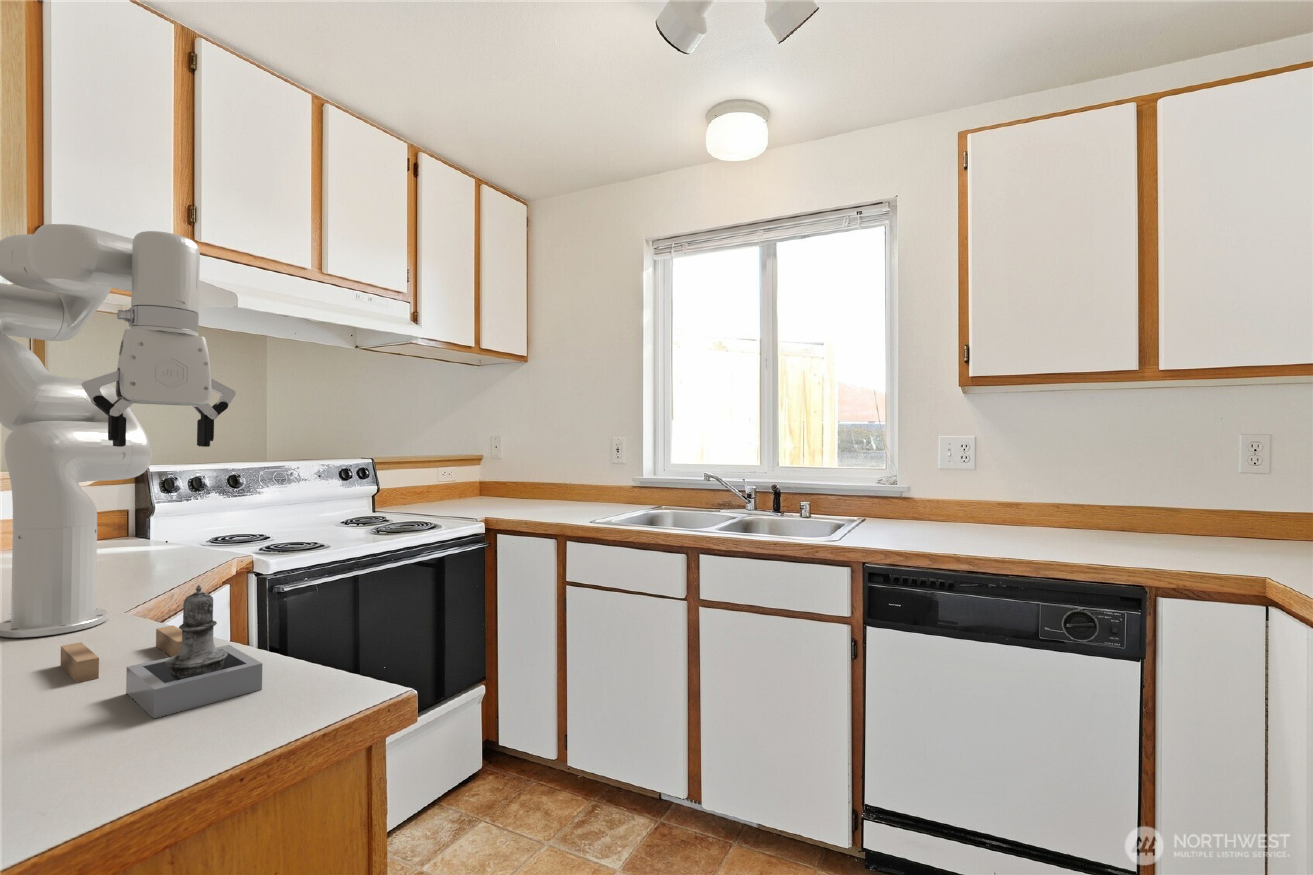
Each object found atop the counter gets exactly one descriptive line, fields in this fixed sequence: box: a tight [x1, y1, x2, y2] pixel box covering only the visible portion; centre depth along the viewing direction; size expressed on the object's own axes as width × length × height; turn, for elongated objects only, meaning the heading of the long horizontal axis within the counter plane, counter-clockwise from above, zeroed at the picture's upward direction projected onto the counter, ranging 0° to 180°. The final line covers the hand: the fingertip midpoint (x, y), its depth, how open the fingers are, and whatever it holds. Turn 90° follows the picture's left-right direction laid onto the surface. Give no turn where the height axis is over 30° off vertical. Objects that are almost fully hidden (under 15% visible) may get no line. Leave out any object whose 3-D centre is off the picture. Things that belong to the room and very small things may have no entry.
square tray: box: [125, 644, 263, 719], centre depth 75 cm, size 10×10×3 cm
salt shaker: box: [166, 584, 228, 680], centre depth 75 cm, size 6×6×12 cm
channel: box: [60, 625, 182, 683], centre depth 85 cm, size 9×12×2 cm
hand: (163, 446), depth 90 cm, fingers open, 9 cm apart
